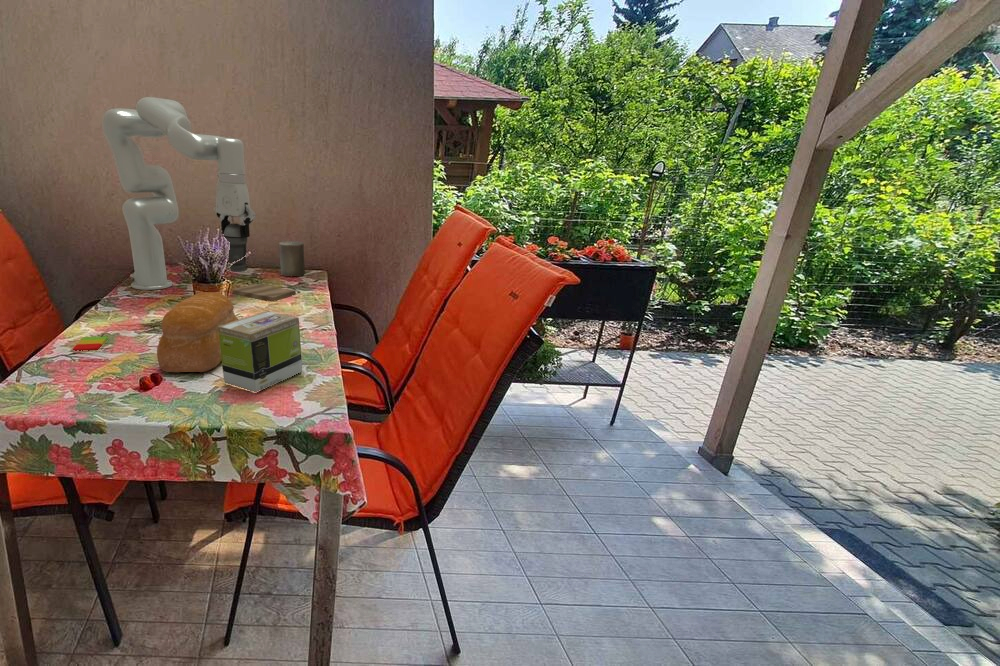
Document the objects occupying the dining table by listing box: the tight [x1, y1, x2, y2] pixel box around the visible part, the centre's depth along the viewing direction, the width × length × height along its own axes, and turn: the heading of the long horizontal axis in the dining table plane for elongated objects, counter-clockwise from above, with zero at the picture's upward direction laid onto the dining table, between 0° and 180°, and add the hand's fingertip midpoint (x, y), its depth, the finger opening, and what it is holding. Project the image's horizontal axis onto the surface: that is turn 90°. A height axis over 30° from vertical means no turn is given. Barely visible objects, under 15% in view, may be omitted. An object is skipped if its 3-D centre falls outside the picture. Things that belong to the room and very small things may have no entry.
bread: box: [156, 292, 239, 373], centre depth 135 cm, size 14×26×15 cm, turn 9°
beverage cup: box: [222, 216, 248, 273], centre depth 174 cm, size 7×7×20 cm
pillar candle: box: [278, 239, 306, 278], centre depth 225 cm, size 10×10×15 cm
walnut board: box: [231, 283, 297, 302], centre depth 195 cm, size 18×12×2 cm, turn 71°
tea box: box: [218, 310, 303, 392], centre depth 124 cm, size 15×10×15 cm, turn 157°
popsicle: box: [72, 336, 109, 351], centre depth 139 cm, size 6×15×2 cm, turn 21°
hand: (235, 235), depth 173 cm, fingers closed on beverage cup, 7 cm apart
